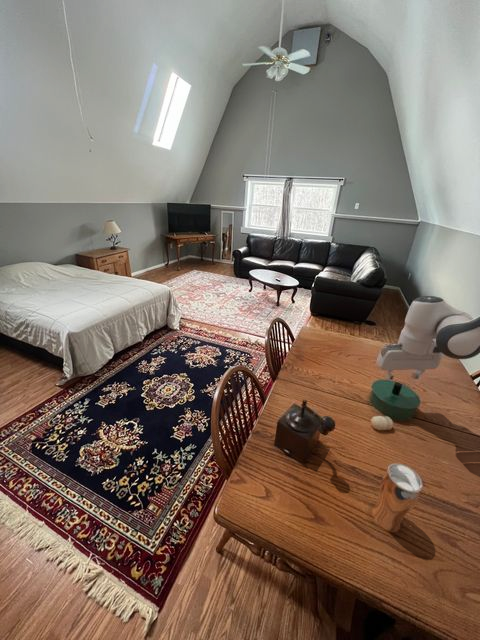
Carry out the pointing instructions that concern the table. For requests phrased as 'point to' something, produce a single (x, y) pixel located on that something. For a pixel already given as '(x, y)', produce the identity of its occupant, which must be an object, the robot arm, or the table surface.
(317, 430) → the manual coffee grinder
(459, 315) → the robot arm
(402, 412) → the basin
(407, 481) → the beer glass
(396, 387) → the lid
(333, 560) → the table surface
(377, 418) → the egg
